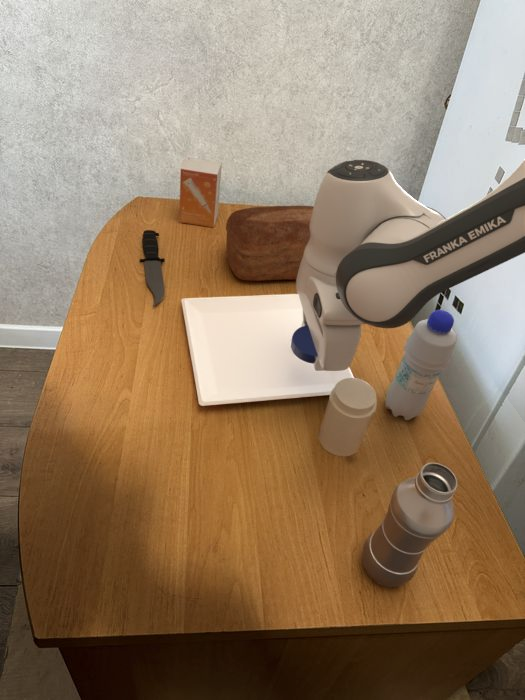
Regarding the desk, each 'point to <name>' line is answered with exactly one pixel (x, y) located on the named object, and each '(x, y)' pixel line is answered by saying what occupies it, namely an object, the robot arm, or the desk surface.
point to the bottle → (421, 364)
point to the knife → (153, 265)
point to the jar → (347, 416)
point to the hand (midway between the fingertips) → (313, 348)
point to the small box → (199, 191)
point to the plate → (250, 350)
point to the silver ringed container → (410, 525)
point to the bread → (267, 241)
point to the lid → (303, 344)
